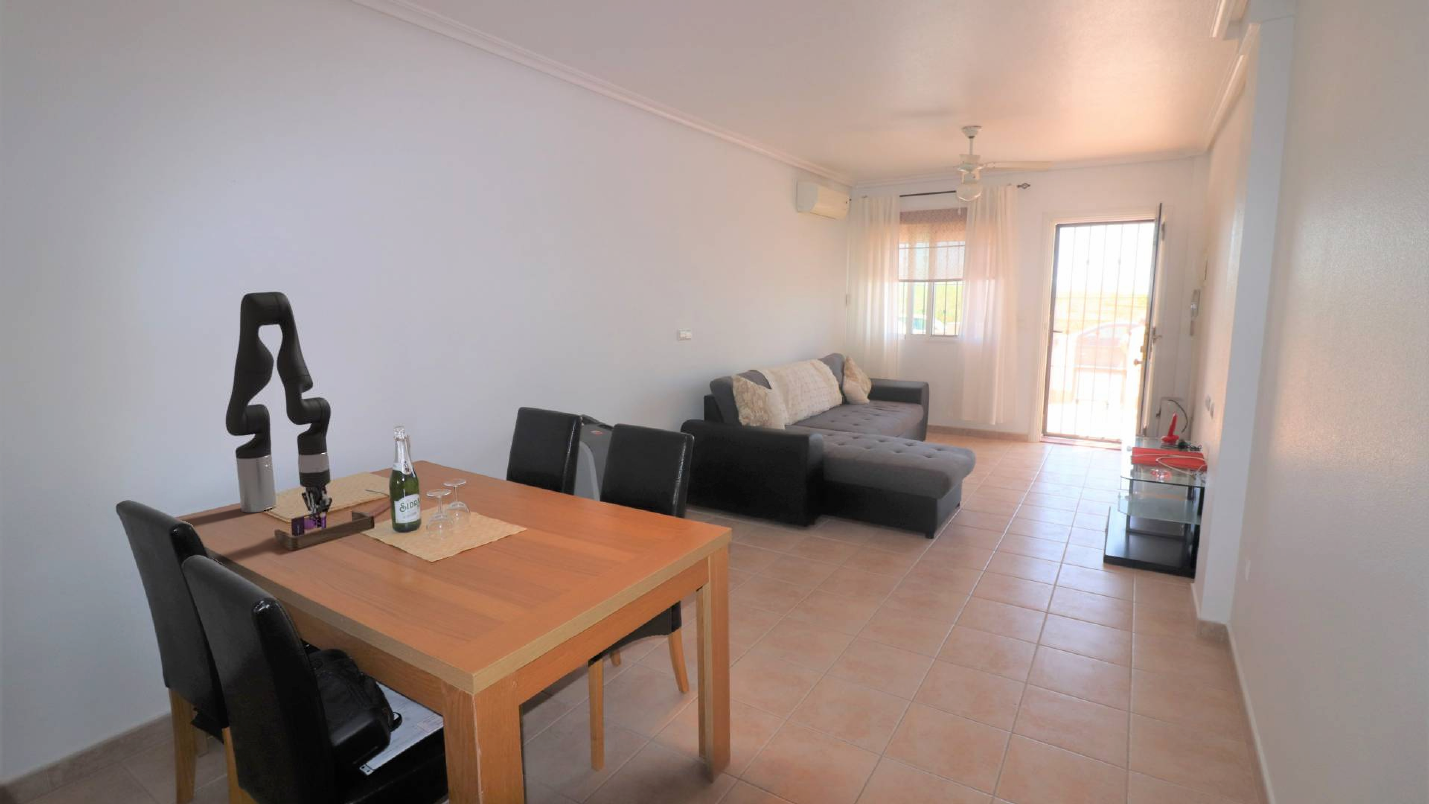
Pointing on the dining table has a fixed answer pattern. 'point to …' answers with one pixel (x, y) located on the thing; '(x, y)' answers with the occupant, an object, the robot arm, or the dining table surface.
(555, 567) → the dining table surface
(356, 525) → the tray
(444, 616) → the dining table surface
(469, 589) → the dining table surface
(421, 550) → the dining table surface
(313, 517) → the purple printed carton
